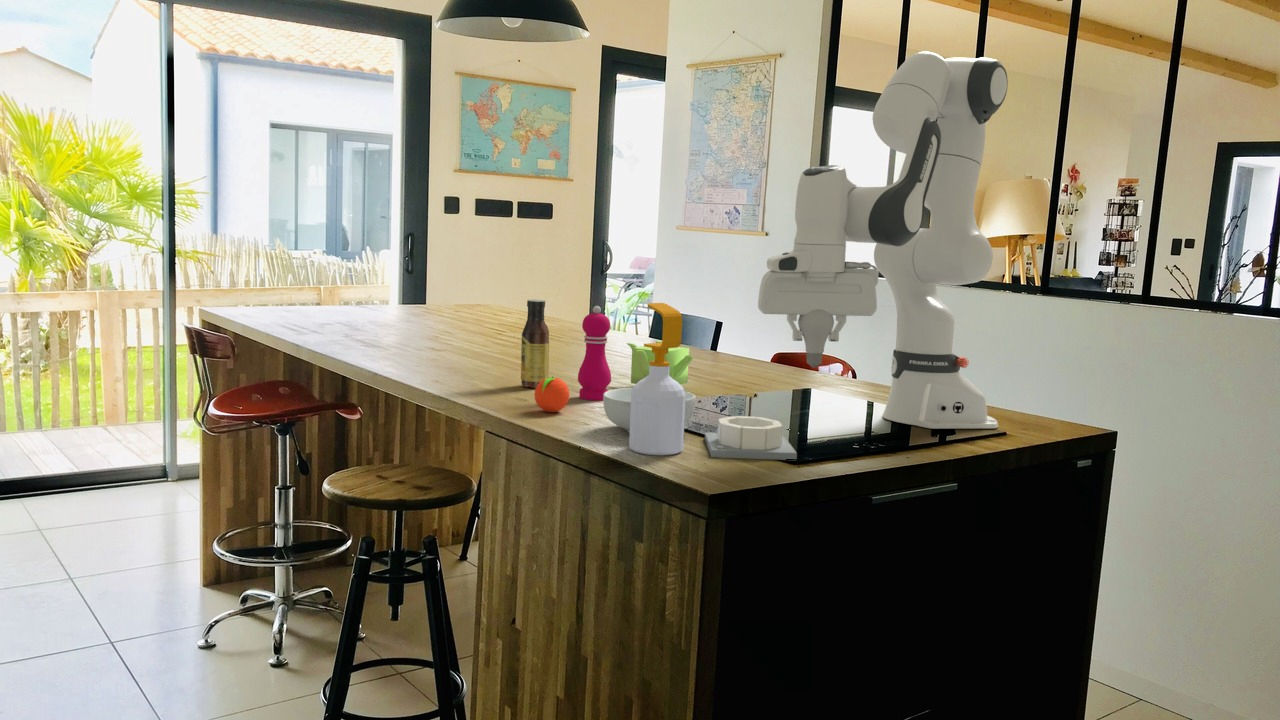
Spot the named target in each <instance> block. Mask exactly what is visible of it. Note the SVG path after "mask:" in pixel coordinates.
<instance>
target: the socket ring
mask: <svg viewBox="0 0 1280 720" xmlns="http://www.w3.org/2000/svg"><path fill="white" fill-rule="evenodd" d="M717 422H718V423H717V424H718V425H717V433H718V441H719V444H722V445H726V446H730V447H735V448H741V449H761V450H765V449H772V448H776V447H781V445H782V435H783V429H784V428H783V426H784V425H782V423H781V422H780V421H779V420H776V419H771V418H766V417H762V416H759V417H758V416H746V415H745V416H744V415H732V416H727V417H721V418H718V421H717Z"/></svg>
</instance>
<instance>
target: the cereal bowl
mask: <svg viewBox="0 0 1280 720" xmlns="http://www.w3.org/2000/svg"><path fill="white" fill-rule="evenodd" d="M632 389H633V387H622V388H621V387H620V388H614V389H610V390H608V391H607V392H605V393H604V395H603V400H602V401H603V409H604V413H605V414H606V415H605V416H606V418H608V420H609V421H610V422H611V423H612V424H614V425H616V426H618V427H620V428H623V429H625V430H626V432H628V433H629V434H630V410H631V391H632ZM684 391H685V390H684ZM685 394H686V397H685V419H684V425H686V424H687V423H688V422H689V421H690V420H691V419H692V417H693V416H694V413H695V408H696V402H697V400H696V398H697V397H696V395H695V394H694V393H692V392H689V391H685Z"/></svg>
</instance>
